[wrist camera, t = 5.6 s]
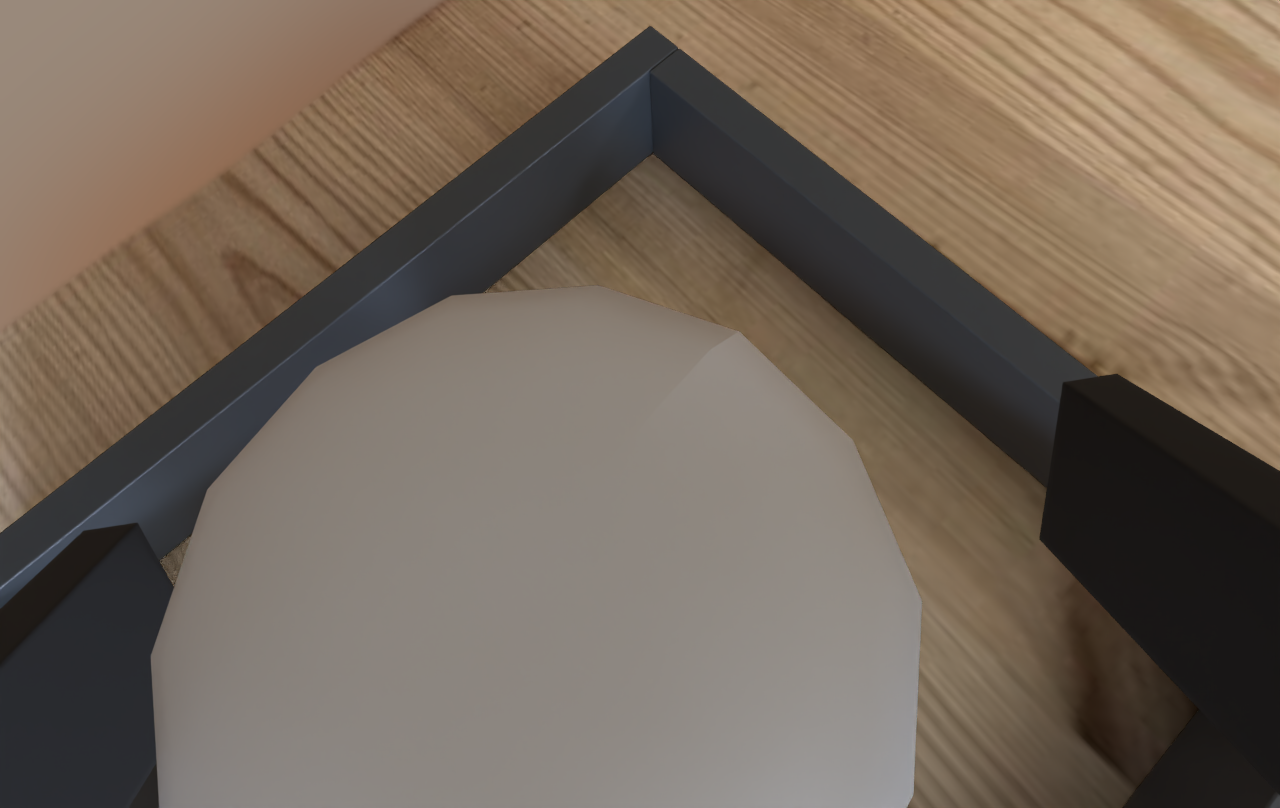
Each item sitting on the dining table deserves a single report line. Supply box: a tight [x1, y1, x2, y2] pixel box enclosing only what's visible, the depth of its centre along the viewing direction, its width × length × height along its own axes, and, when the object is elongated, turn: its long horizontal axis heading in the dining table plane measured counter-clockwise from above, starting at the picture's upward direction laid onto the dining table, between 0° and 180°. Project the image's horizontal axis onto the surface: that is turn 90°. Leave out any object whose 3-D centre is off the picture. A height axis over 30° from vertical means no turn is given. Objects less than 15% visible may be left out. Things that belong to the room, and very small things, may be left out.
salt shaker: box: [151, 285, 922, 808], centre depth 9 cm, size 6×6×13 cm
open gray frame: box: [0, 26, 1280, 808], centre depth 14 cm, size 20×20×3 cm
